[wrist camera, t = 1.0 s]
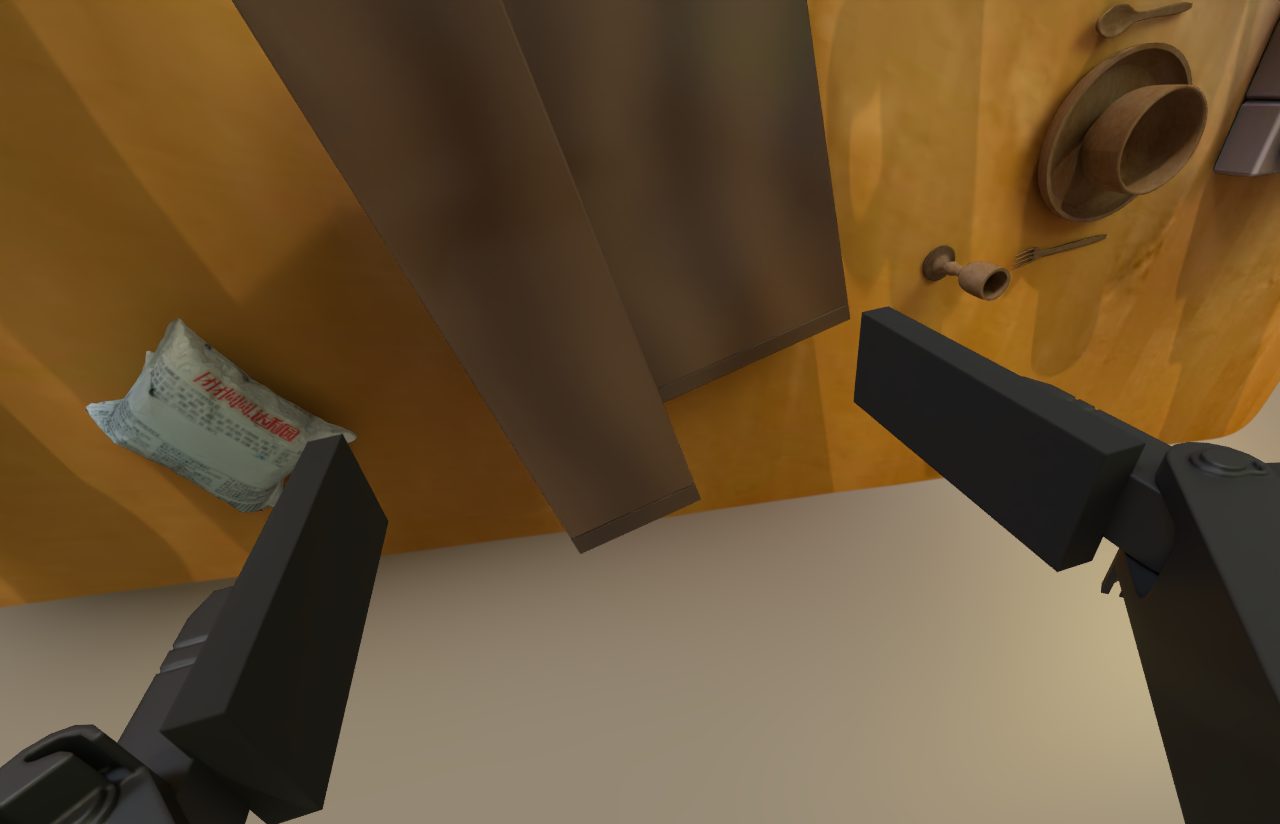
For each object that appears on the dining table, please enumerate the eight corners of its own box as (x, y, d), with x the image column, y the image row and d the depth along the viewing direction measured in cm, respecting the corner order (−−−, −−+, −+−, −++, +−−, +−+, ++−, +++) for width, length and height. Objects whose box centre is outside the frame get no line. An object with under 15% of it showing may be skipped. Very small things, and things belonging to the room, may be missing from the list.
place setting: (1123, 237, 47) (1198, 254, 42) (919, 290, 45) (973, 314, 40) (1206, -14, 38) (1314, -29, 33) (953, 35, 35) (1029, 26, 30)
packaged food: (195, 304, 32) (152, 335, 28) (364, 423, 39) (348, 463, 35) (105, 392, 34) (51, 435, 30) (281, 493, 40) (257, 540, 36)
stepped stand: (720, -186, 27) (946, -456, 14) (807, 292, 42) (956, 384, 29) (319, -15, 27) (152, -124, 13) (550, 406, 42) (580, 554, 28)
